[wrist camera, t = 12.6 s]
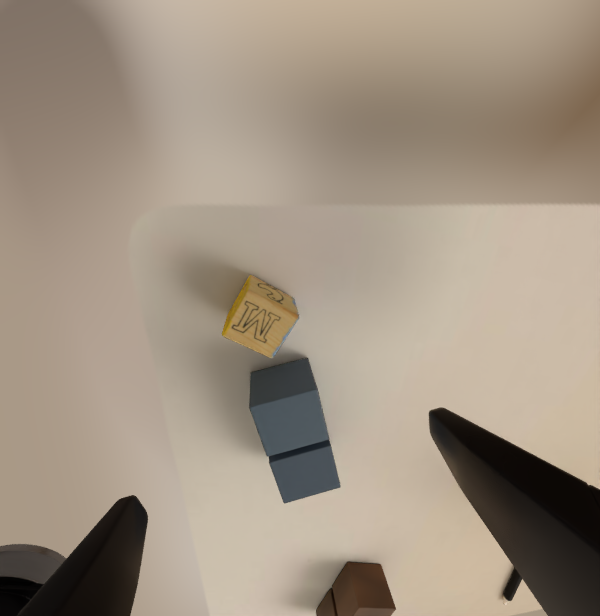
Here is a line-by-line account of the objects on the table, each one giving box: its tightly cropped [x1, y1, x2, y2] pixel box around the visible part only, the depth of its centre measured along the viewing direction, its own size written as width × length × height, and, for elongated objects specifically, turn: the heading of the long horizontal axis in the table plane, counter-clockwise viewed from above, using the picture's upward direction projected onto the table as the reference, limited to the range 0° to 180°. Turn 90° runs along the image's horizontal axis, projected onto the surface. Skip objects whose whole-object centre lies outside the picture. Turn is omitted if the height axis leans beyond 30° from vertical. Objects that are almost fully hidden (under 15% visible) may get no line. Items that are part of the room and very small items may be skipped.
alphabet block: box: [222, 275, 299, 358], centre depth 16 cm, size 3×3×3 cm
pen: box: [503, 569, 522, 605], centre depth 33 cm, size 1×19×1 cm, turn 0°
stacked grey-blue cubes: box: [249, 358, 340, 503], centre depth 19 cm, size 4×8×4 cm, turn 12°
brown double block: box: [316, 562, 396, 616], centre depth 29 cm, size 4×8×4 cm, turn 158°
